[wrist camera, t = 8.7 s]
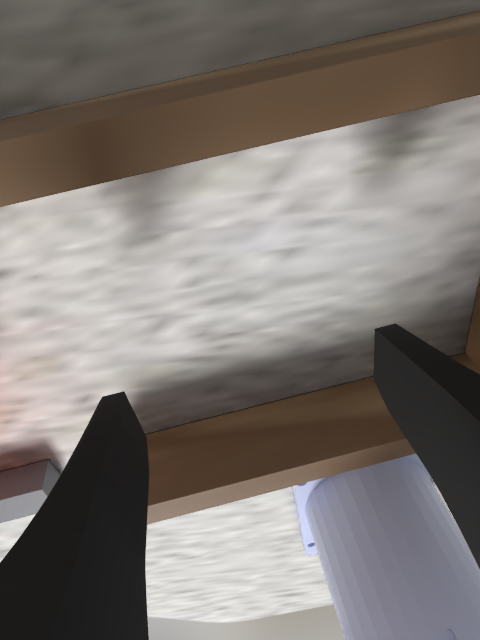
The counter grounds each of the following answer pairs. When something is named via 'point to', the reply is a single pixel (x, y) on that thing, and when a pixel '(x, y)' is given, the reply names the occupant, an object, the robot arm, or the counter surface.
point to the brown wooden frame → (231, 136)
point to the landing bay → (25, 489)
